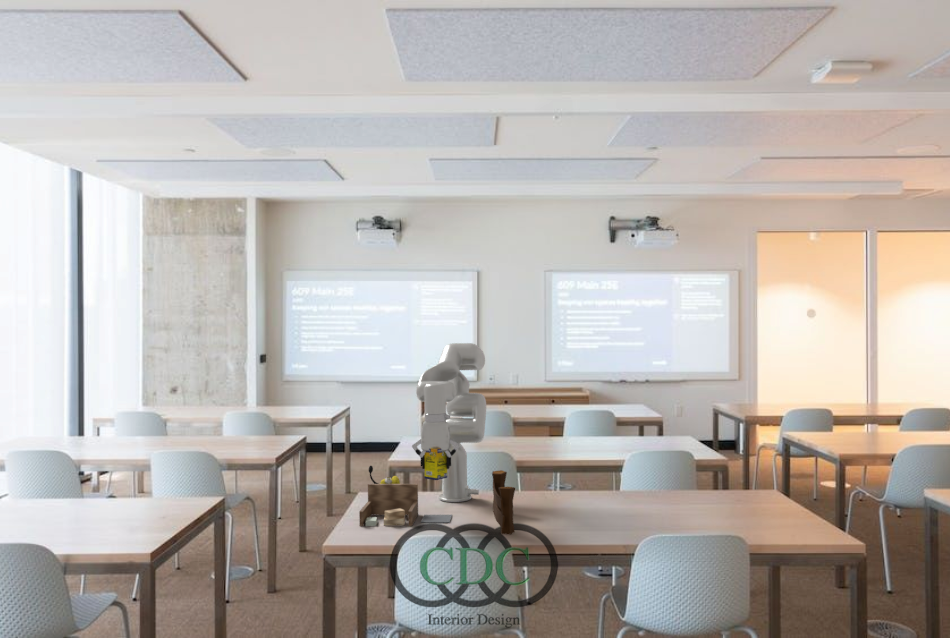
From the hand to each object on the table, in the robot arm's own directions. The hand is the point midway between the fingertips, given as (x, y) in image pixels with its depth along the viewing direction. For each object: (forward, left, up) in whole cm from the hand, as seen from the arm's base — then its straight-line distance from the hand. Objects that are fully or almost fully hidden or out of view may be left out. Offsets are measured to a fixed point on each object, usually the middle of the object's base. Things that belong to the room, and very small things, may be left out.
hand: (436, 468), depth 264 cm
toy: (+22, -25, -18) cm, 38 cm away
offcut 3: (+14, +6, -18) cm, 24 cm away
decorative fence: (-24, +4, -18) cm, 30 cm away
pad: (0, 0, -18) cm, 18 cm away
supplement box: (0, 0, -4) cm, 4 cm away
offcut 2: (+14, +6, -16) cm, 22 cm away
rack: (+16, +1, -18) cm, 24 cm away
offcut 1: (+22, +6, -18) cm, 29 cm away
